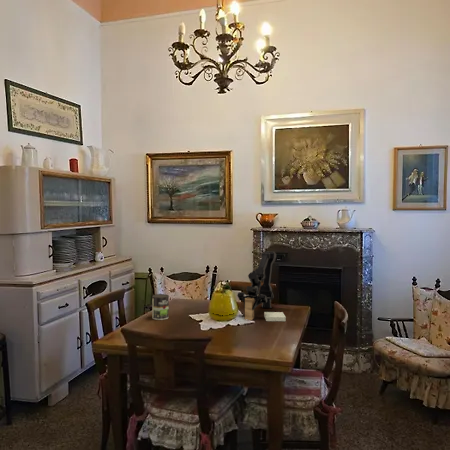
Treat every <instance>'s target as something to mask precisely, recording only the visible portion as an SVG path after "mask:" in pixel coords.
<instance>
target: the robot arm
mask: <svg viewBox="0 0 450 450" xmlns="http://www.w3.org/2000/svg"><path fill="white" fill-rule="evenodd" d="M276 259H277V253H276V252H275V251H267V250H266V251H265V252H262V254H261V259H260V261H259V264H258V267H257V268H256V269H255V270H252V271H251V272H250V273H249V274H248V275H247V277H248V279H249V282H250V283H251V286H250V285H247V286H246V289H245V290H246V294H245V292H241V291H239V292H238V293H237V295H236V296H237V298H238V300H239V301H242V302H243V309H244V310H245V298H247V297H249V298H254V306H253V310H254V311H255V309H256V308H257V307H258V306H260V305H261V308H262V309H272V303H271V302H272V300H274V297H275V296H274V293H273V288H272V286H271V280H272V269H273V264H274V263H275V262H276ZM262 282H263V283H262Z"/></svg>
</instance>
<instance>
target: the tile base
mask: <svg viewBox="0 0 450 450" xmlns="http://www.w3.org/2000/svg"><path fill="white" fill-rule="evenodd" d="M263 312H264V313H263V314H264V315H263V317H264V320H265V321H266V322H286V318H287V317H286V315H285V314H284V312H283V311H281V312H280V311H276V312H275V311H263Z"/></svg>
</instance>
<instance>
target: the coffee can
mask: <svg viewBox="0 0 450 450" xmlns="http://www.w3.org/2000/svg"><path fill="white" fill-rule="evenodd" d="M151 297H152V301H151V304H152V307H151V308H152V311H151V312H152V313H151V314H152V315H151V316H152V317H151V318H152V319H153V320H156V321H164V320H168V319H169V315H170V313H169V310H170V308H169V306H170V305H169V299H170V298H169V297H170V295H168V294H165V293H158V294H157V293H156V294H153V295H152V296H151Z"/></svg>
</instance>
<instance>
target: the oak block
mask: <svg viewBox="0 0 450 450" xmlns="http://www.w3.org/2000/svg"><path fill="white" fill-rule="evenodd" d="M254 303H255V299H254V298H249V297H247V298H245V309H244V320H246V319H248V320H249V321H252V320H254V319H255V309H254V310H253V306H254Z"/></svg>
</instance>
